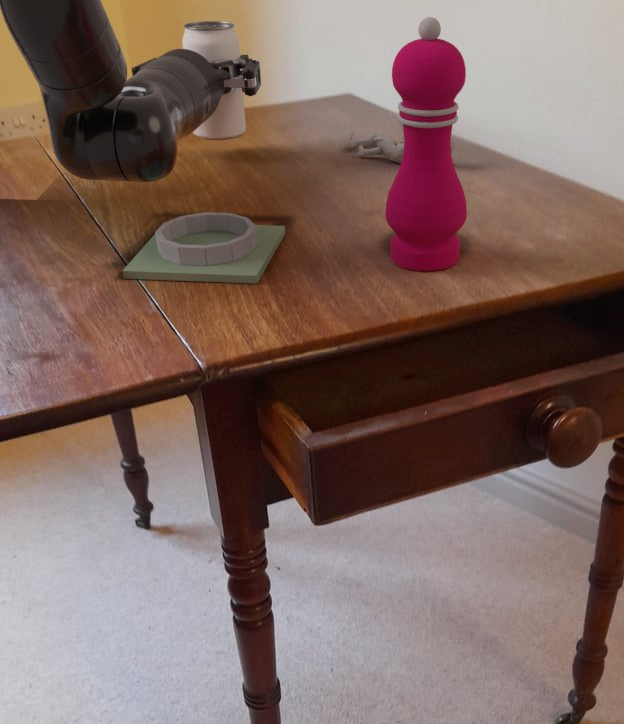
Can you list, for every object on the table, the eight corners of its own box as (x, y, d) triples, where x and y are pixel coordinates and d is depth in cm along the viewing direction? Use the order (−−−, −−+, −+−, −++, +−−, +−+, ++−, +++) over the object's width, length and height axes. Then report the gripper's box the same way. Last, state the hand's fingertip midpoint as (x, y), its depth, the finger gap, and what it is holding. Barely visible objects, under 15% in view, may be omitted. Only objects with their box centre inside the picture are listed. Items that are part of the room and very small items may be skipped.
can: (188, 141, 103) (175, 29, 96) (196, 127, 108) (184, 20, 101) (243, 141, 103) (234, 29, 96) (248, 127, 108) (240, 20, 101)
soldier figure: (369, 157, 109) (460, 131, 105) (371, 192, 108) (464, 167, 103) (342, 123, 102) (439, 94, 98) (344, 160, 101) (442, 132, 96)
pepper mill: (392, 241, 83) (392, 9, 72) (468, 245, 82) (479, 10, 71) (379, 271, 77) (376, 23, 66) (460, 276, 76) (471, 25, 65)
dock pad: (123, 279, 76) (118, 252, 75) (166, 229, 86) (162, 204, 85) (257, 284, 75) (254, 256, 74) (285, 233, 85) (283, 208, 84)
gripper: (239, 57, 87) (275, 29, 100) (99, 54, 88) (154, 27, 102) (246, 135, 91) (279, 98, 104) (113, 131, 92) (163, 95, 106)
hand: (217, 63), depth 103 cm, fingers closed on can, 6 cm apart
